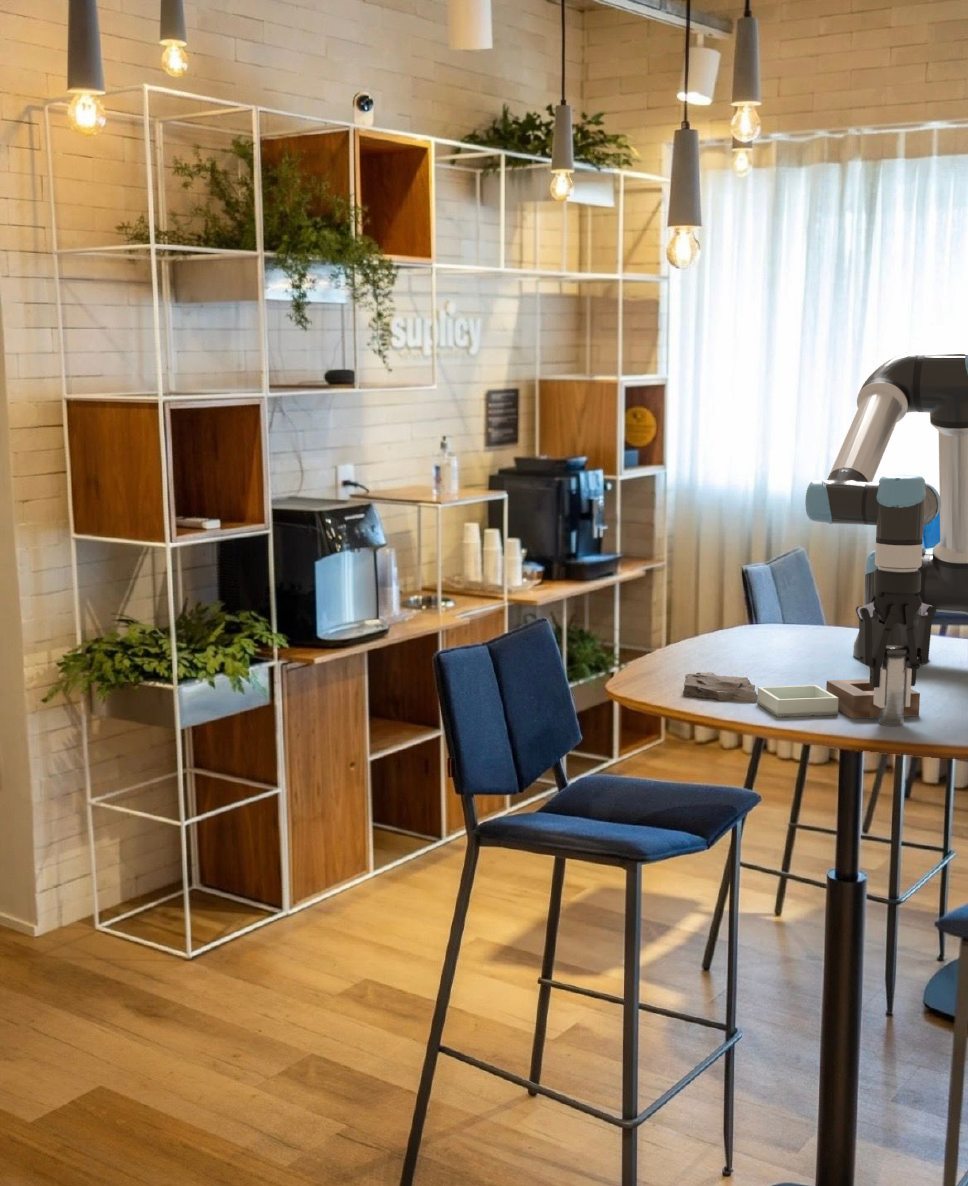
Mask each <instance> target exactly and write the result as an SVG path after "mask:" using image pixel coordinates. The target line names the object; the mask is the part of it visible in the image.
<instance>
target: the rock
mask: <svg viewBox="0 0 968 1186" xmlns="http://www.w3.org/2000/svg"><path fill="white" fill-rule="evenodd" d="M682 693H683V694H684V696H688V697H694V698H695V697H696V698H701V699H710V700H717V701H718V702H733V701H734V702H744V703H745V702H748V703H752V702H753V703H754V702H755V703H757V701H758V693H757V692H756V685H755V684H752V683H751V681H750V679H748V677H746V676H745V677H744V676H743V677H741V676H734V675H733V676H731V675H730V676H727V675H718V674H715V673H714V672H711V671H710V672H700V671H699V672H696V673H688V674H685V676H684V682H683V691H682Z"/></svg>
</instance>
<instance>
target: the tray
mask: <svg viewBox="0 0 968 1186" xmlns="http://www.w3.org/2000/svg"><path fill="white" fill-rule="evenodd" d="M757 695H758V699H757V702H756V703H757V705H759V706H761V707H762V708H763V709H764V710H766V711H768V712H769V713H770V714H772V715H774V716H775V717H776V716H777V718H782V716H783V718H784V716H790V717H807V716H808V717H810V716H811V715H815V716H834V715H837V716H838V715H839V710H838V697H836V696H835V695H833V694H831V693H829V692H828V691H826V690H825V689H824V688H823V687H820V686H819V685H817V684H814V685H813V684H811V685H806V684H805V685H785V686H784V685H783V686H760V687H759V686H758V687H757ZM811 717H812V716H811Z"/></svg>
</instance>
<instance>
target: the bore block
mask: <svg viewBox="0 0 968 1186" xmlns="http://www.w3.org/2000/svg"><path fill="white" fill-rule="evenodd" d="M825 689H826V691H828V692H829V693H831V694H833V695H835V696H836V697H838V711H840V712H841V711H842V714H845V715H847V716H848V717H850V716H851V717H852V718H851V717H850V718H851V719H871V718H872V719H873V718H874V719H875V718H878V719H879V707H878V706H876V705H874V704H873V700H874V687H872V686H870V678H866V679H864V678H863V679H862V678H861V679H839V680H834V679H833V680H826V686H825ZM920 700H921V693H920V692H918V691H916V690H914V689H912V688H911V697H910V707H905V706H904V716H903V717H919V716H920V702H921V701H920Z"/></svg>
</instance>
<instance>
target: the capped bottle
mask: <svg viewBox="0 0 968 1186" xmlns="http://www.w3.org/2000/svg"><path fill="white" fill-rule="evenodd" d="M906 655H908V648H906V647H903V646H896V645H887V646H886V651H885V655H884V659H883V664H882V667H881V668H883V669H885V670H886V683H885V705H884V708H880V707H879V717H878V724H880V725H883V726H887V727H888V726H889V727H900V726H903V725H904V717H905V716H904V695H905V674H906Z"/></svg>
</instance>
